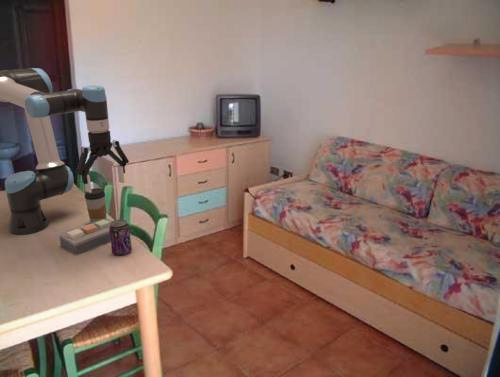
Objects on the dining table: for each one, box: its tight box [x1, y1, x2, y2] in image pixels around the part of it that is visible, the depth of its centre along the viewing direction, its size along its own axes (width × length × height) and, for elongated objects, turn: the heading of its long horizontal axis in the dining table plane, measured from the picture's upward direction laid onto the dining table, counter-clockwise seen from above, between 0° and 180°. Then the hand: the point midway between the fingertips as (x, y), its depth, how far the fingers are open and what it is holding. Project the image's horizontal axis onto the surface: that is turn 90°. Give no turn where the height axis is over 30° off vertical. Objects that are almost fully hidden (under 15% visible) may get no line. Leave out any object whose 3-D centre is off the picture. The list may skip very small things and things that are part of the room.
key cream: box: [66, 228, 84, 240], centre depth 169 cm, size 4×4×3 cm
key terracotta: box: [80, 223, 98, 235], centre depth 173 cm, size 4×4×3 cm
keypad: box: [58, 220, 111, 256], centre depth 174 cm, size 12×19×5 cm, turn 138°
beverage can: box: [109, 218, 132, 256], centre depth 164 cm, size 7×7×12 cm
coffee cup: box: [84, 187, 107, 224], centre depth 188 cm, size 8×8×15 cm
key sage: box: [95, 219, 111, 230], centre depth 177 cm, size 4×4×3 cm
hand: (105, 186), depth 164 cm, fingers open, 13 cm apart
